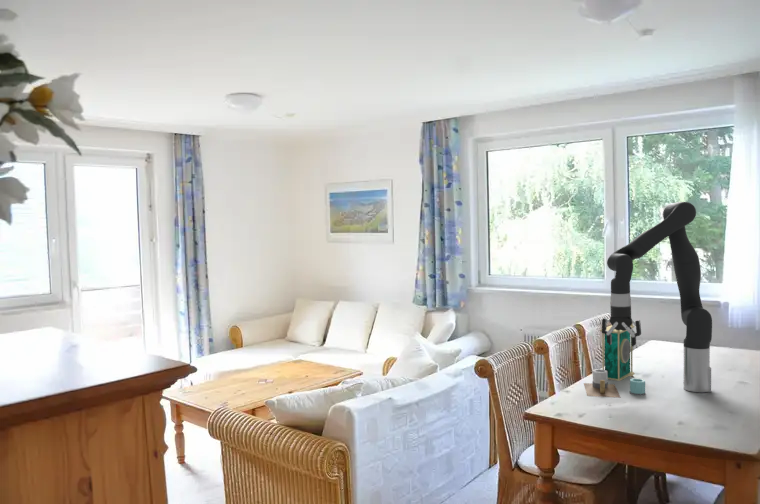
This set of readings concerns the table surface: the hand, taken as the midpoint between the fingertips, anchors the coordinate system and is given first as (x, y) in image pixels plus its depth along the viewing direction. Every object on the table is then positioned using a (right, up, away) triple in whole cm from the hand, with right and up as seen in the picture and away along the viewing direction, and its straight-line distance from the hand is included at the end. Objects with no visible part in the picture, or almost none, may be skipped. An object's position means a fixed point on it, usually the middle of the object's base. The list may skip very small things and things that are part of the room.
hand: (621, 345), depth 234 cm
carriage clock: (+7, -18, +22) cm, 30 cm away
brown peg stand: (-7, -19, +1) cm, 21 cm away
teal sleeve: (+5, -19, -4) cm, 20 cm away
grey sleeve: (-6, -18, +6) cm, 20 cm away
